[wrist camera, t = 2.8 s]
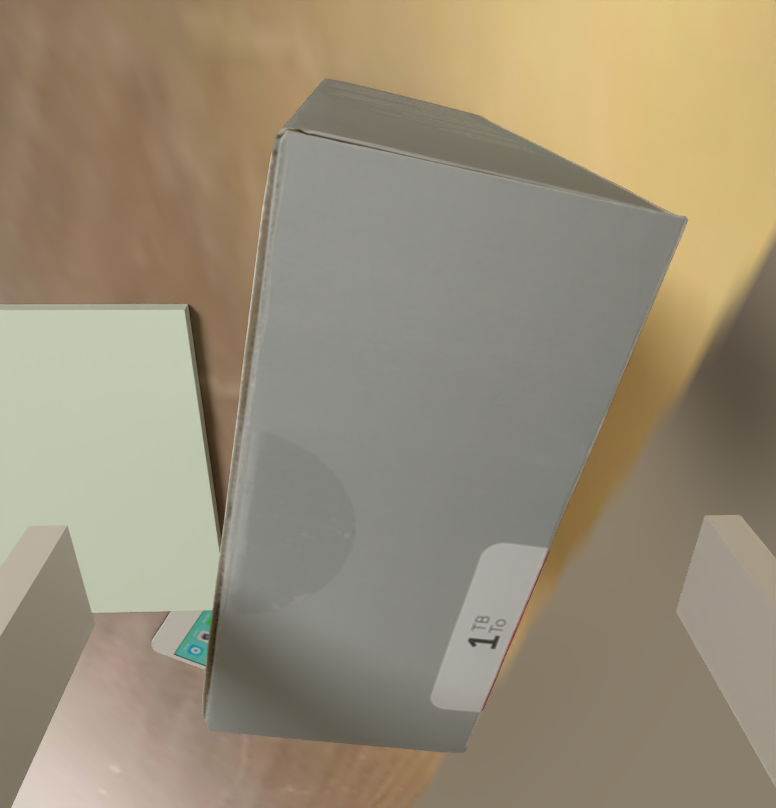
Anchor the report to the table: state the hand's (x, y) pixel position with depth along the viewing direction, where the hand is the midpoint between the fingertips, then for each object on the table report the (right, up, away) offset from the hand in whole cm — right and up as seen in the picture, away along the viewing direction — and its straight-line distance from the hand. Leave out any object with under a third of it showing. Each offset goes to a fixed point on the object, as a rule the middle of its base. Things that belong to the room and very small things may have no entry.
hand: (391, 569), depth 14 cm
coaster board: (-17, 0, +23) cm, 28 cm away
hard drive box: (-1, +10, +18) cm, 21 cm away
